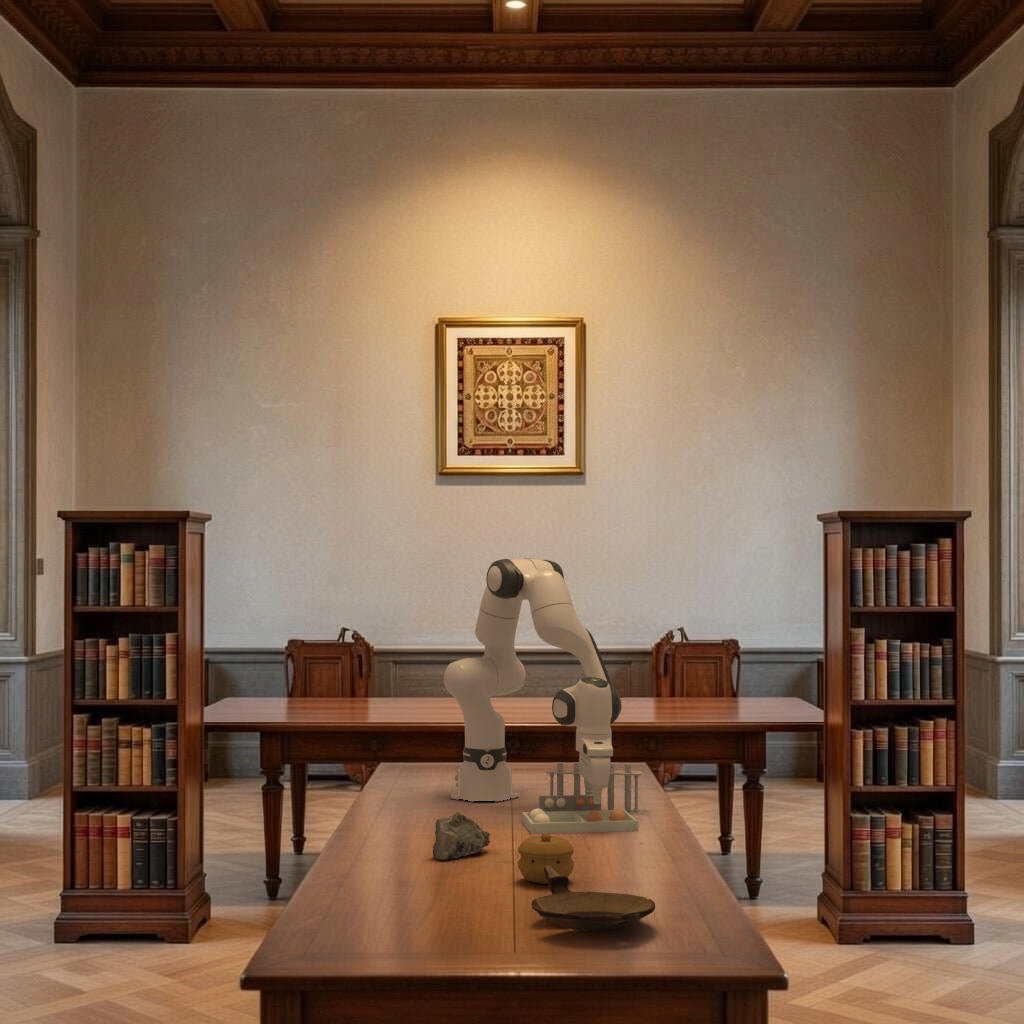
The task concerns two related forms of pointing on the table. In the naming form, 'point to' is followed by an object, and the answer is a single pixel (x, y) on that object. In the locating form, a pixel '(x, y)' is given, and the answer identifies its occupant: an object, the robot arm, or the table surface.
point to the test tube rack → (627, 773)
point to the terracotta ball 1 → (594, 816)
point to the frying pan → (589, 906)
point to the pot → (545, 857)
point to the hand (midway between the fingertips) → (592, 799)
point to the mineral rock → (458, 837)
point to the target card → (567, 803)
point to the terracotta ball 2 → (617, 815)
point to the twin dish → (579, 823)
